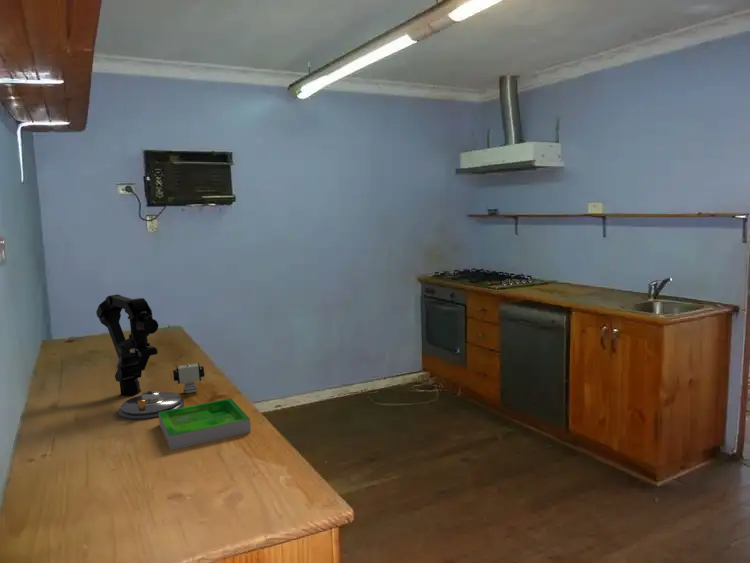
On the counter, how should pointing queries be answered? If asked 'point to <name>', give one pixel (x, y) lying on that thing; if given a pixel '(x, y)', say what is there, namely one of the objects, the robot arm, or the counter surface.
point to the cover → (151, 397)
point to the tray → (203, 423)
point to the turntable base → (148, 416)
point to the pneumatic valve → (189, 376)
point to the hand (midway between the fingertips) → (142, 370)
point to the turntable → (140, 408)
